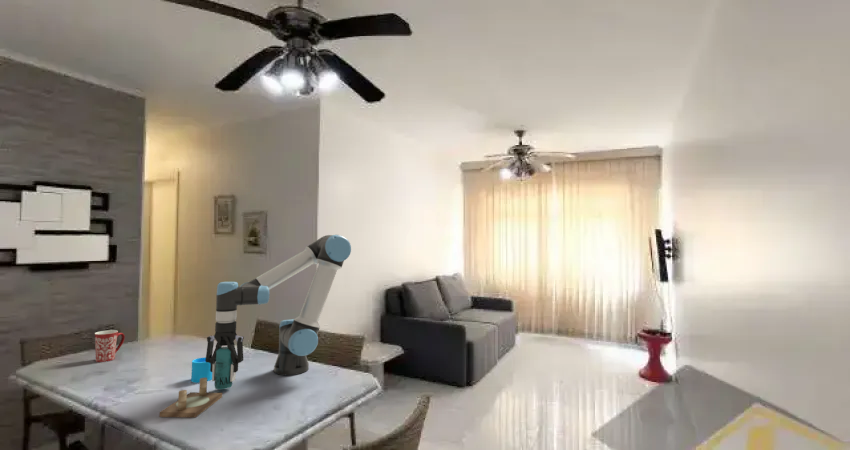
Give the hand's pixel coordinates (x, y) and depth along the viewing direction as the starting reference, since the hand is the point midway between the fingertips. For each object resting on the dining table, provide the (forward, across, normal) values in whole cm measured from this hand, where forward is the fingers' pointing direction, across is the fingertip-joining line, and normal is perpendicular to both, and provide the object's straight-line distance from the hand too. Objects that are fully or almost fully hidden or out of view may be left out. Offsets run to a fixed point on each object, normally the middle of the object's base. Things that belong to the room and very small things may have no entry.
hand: (223, 380), depth 161 cm
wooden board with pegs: (+4, +3, +16) cm, 17 cm away
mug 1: (+4, +75, -39) cm, 85 cm away
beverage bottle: (+4, 0, 0) cm, 4 cm away
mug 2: (+4, +14, -14) cm, 20 cm away
